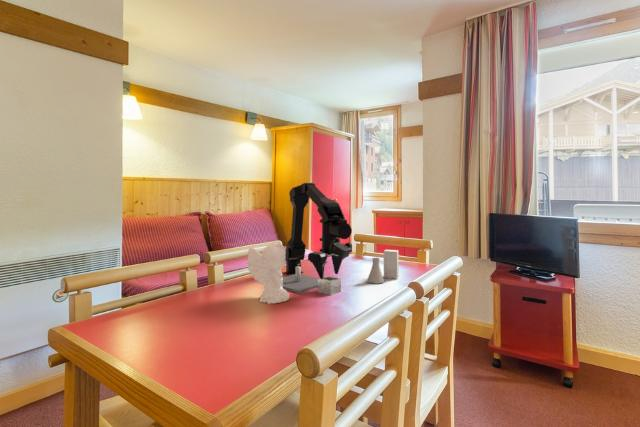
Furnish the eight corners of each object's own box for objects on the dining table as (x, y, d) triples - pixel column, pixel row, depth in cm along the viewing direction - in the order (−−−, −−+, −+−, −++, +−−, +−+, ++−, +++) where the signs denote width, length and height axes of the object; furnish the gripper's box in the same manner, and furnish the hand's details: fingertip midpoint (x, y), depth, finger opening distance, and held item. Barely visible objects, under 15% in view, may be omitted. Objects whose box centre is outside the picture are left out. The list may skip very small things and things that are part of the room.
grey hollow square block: (317, 291, 127) (317, 278, 127) (327, 287, 132) (327, 275, 132) (330, 295, 123) (331, 281, 123) (341, 291, 128) (341, 278, 128)
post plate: (266, 284, 136) (266, 267, 135) (296, 275, 150) (296, 260, 149) (299, 293, 125) (299, 275, 124) (328, 282, 139) (329, 266, 138)
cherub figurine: (264, 307, 110) (264, 247, 108) (246, 298, 119) (245, 242, 118) (296, 299, 119) (296, 243, 117) (277, 290, 128) (276, 239, 126)
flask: (383, 279, 144) (384, 256, 143) (385, 284, 137) (385, 260, 136) (366, 279, 145) (367, 256, 144) (367, 283, 138) (367, 259, 137)
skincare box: (398, 277, 148) (399, 250, 147) (397, 279, 144) (397, 251, 143) (384, 275, 151) (385, 248, 150) (382, 278, 147) (383, 250, 146)
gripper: (331, 240, 114) (331, 285, 115) (361, 234, 128) (360, 274, 129) (307, 237, 120) (306, 280, 122) (337, 232, 135) (337, 270, 136)
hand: (329, 276), depth 127 cm, fingers open, 9 cm apart
